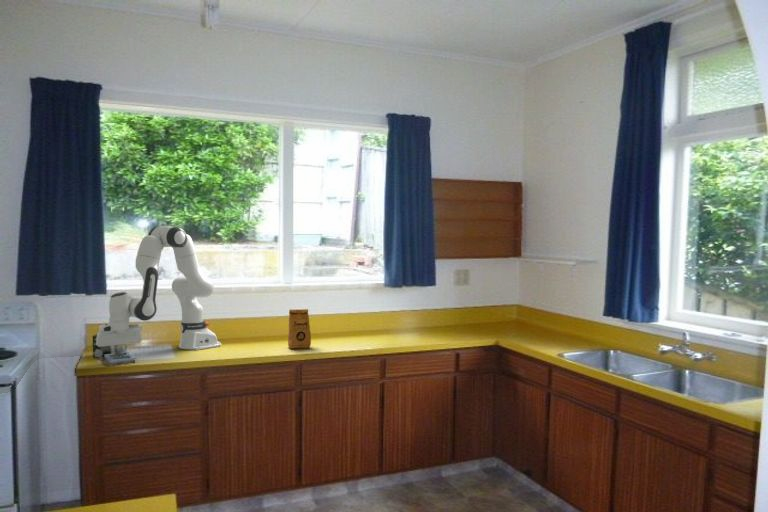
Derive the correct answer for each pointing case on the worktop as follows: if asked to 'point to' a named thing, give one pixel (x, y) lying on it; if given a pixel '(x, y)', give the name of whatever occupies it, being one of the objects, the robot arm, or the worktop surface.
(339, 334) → the worktop surface
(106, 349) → the chalk box
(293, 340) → the coffee package
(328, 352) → the worktop surface
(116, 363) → the board
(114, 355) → the panel
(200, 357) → the worktop surface
